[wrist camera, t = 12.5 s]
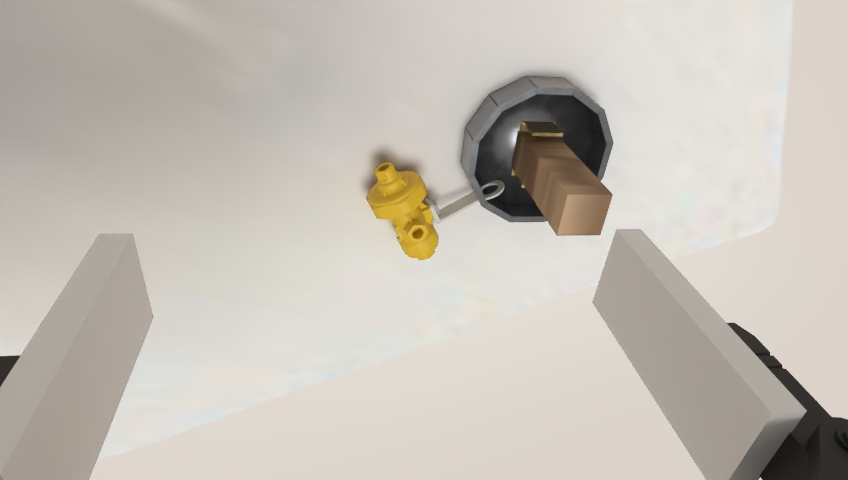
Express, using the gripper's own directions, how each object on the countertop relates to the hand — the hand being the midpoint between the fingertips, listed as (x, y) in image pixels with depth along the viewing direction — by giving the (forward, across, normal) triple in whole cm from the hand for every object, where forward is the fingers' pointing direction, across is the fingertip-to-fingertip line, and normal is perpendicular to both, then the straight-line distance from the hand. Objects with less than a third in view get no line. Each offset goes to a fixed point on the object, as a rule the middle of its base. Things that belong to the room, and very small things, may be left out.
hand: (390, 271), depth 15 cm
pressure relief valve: (+33, +8, -14) cm, 37 cm away
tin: (+33, +17, -10) cm, 38 cm away
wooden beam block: (+32, +17, -10) cm, 38 cm away
